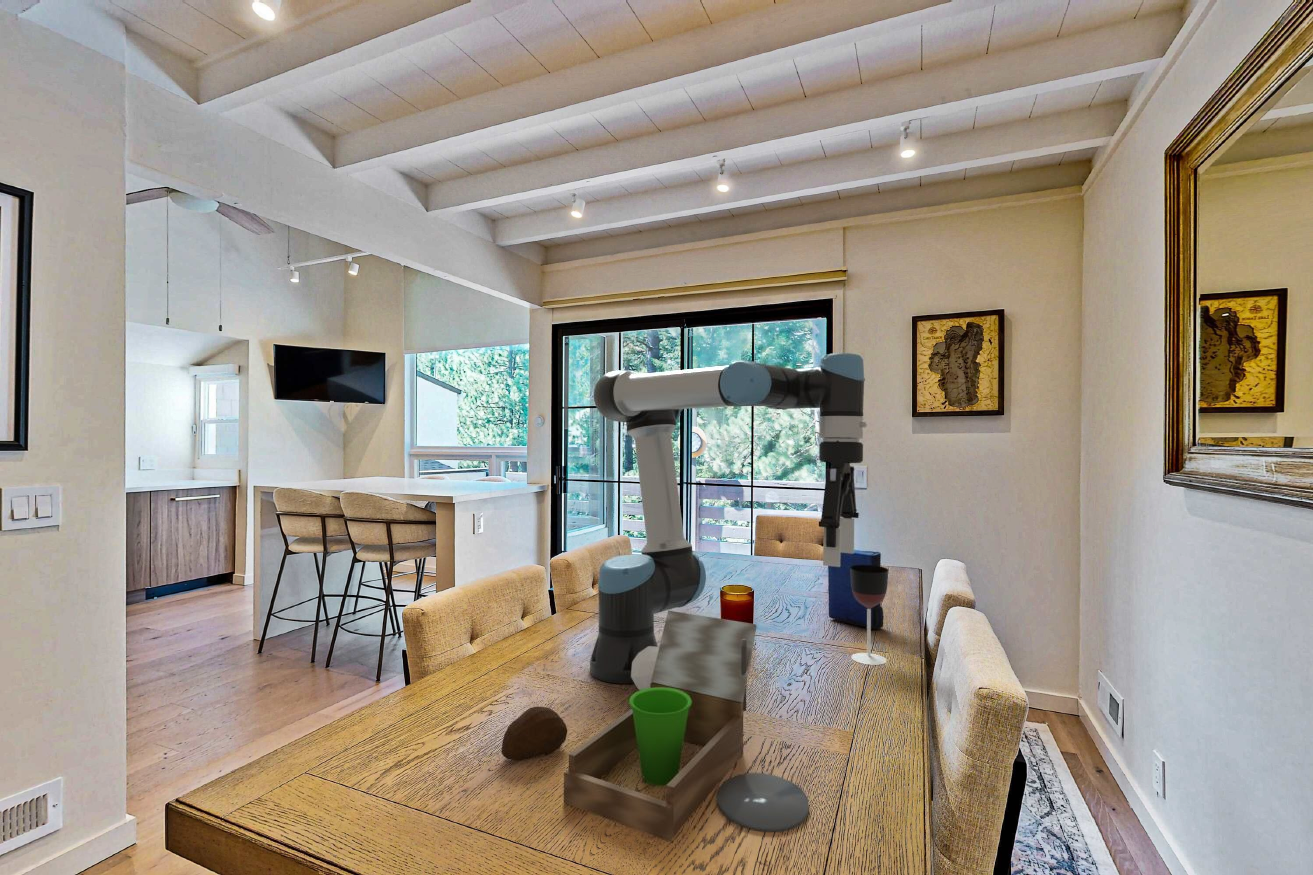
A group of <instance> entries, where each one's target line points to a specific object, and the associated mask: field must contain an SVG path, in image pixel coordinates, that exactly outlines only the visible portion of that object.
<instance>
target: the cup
mask: <svg viewBox="0 0 1313 875" xmlns="http://www.w3.org/2000/svg"><path fill="white" fill-rule="evenodd" d="M628 703H629V706H630V707H631V709H632V711H633V718H634V725H635V731H636V738H637V745H638V748H637V752H638V756H639V764H640V770H641V776H642V777H643V780H644V781H645V782H646V783H648V785H649V784H650V785H653V786H658V787H664V786H666V785H667V784H668V783H669V782H670V781H671V780H672V779H673V778H674V777H675V776H676V775H677V774H678V773H679V772H680V767H681V766H680V765H681V759H682V753H683V746H684V742H685V741H684V735H685V729H686V722H687V716H688V710H689V707H690V706H691V704H692V700H691V698H690V696H689V695H687V694H686V693H684V692H683V691H680V690H677V689H672V688H664V687H655V688H647V689H643V690H638V691H636V692H634V693H633V694H631V696H630V698H629V700H628Z"/></svg>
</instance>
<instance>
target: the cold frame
mask: <svg viewBox="0 0 1313 875" xmlns="http://www.w3.org/2000/svg"><path fill="white" fill-rule="evenodd" d="M662 630H663V631H662V635H661V639H660V643H659V646H658V647H659V651H658V655H657V659H656V663H655V667H654V671H653V675H652V679H651V682H652V683H650V688H655V687H664V688H672V689H677V690H680V691H683V692H684V693H686V694H687V695H689V696H690V698H691V700H692V704H691V706H690V707H689V710H688V716H687V722H686V729H685V735H684V741H683V742H687V743H691V744H694V745H698V746H700V747H701V746H702V748H701V749H700V751H698V753H696V754H695V755H694V756H693V758H692V759H691V760H689V761H688V763H687V764H685V766H684V767H683V768H682V769H681V770H679V773H678V774H677V775H676V776H675V777H674V778H673V779H672V780H671V781H670V782H669V783H668V784H667V785H665V787H666V800H663V799H660V798H657V797H653V796H651V795H648V794H644V793H642V792H638V791H635V790H633V789H630V788H627V787H624V786H621V785H617V784H614V783H611V782H609V781H605V780H604V779H602V778H604V777H605V776H606V775H607V774H608V773H610V772H611V771H612V770H613V769H614V768H616V766H619V764H621V763H622V762H623V761H624V760H625V759H626V758H628V757H629V756H630V755H632V753H633V752H635V751H636V750H638V745H637V738H636V731H635V725H634V718H633V711H632V708H631V709H630V710H628V711H627V712H625V713H623V714H622V715H621V716H620V717H618V718H617V719H616V720H614V721H613V722H611V723H610V724H608V725H607V726H605V727H604V728H603V729H602V730H600V731H599V732H597V733H596V734H594V735H593V736H592V737H590V738H589V739H588V740H586V741H585V742H584V743H582V744H580V745H579V746H578V747H576V748H575V749H573V750H572V751H570V752H569V753H568V768H567V769H566V770H565V771H564V772H563V803H564V804H566V805H568V806H572V807H575V808H577V809H580V810H582V811H585V812H588V813H591V814H594V815H596V816H599V817H601V818H605V819H608V820H610V821H613V822H616V823H618V824H621V825H623V826H626V827H627V828H628V827H629V828H631V829H634V830H637V831H639V832H643V833H645V834H647V835H651V836H654V837H656V838H659V839H660V840H661V839H662V840H664V841H666V842H671V841H672V840H673V838H674V837H675V836H676V835H677V834H678V832H679V831H680V830H681V829H682V828H683V826H684V825H685V824H686V823H687V822H688V820H690V818H691V817H692V815H693V814H694V813H695V812H696V811H697V810H698V809H699V807H700V806H701V805H702V804H703V802H704V801H705V800H706V799H707V798H708V796H709V795H710V794H711V793H712V791H713V790H714V789H715V788H716V787H717V786H718V784H719V783H720V782H721V781H722V779H723V778H724V777H725V776H726V775H727V774H728V772H729V771H730V770H731V769H732V768H733V766H734V765H735V764H736V763H737V762H738V761H739V759H740V758H741V757H742V755H743V754H744V712H747V683H748V677H749V673H750V672H749V671H750V665H751V660H752V655H753V648H754V644H755V637H756V633H757V632H756V631H757V625H756V623H749V622H743V621H737V620H731V619H724V618H719V617H718V618H717V617H714V616H713V617H712V616H706V615H700V614H694V613H693V614H692V613H686V612H681V611H680V612H679V611H673V610H667V613H666V618H665V621H664V626H663V629H662Z"/></svg>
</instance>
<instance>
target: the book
mask: <svg viewBox="0 0 1313 875" xmlns="http://www.w3.org/2000/svg"><path fill="white" fill-rule="evenodd" d="M881 554H882V553H881V552H880V551H872V550H871V551H870V550H861V549H860V550H859V549H858V550H857V549H854V553H853V554H851V553H841V552H840V567H835V566H827V571H828V572H827V573H828V574H827V575H828V576H827V577H828V578H827V579H828V583H827V584H828V585H827V586H828V587H827V588H828V591H827V592H828V617H829V618H830V619H832V620H834V621H838V622H839V621H840V622H842V623H848V624H850V625H854V626H859V627H863V628H867V607H865V606H864V605H862V604H861V603H859V602H858V601H857V600H856V598H855V597H854V595H853V592H852V587H851V574H850V567H851V566H854V565H874V566H880V567H882V566H881V565H882V564H881V563H882V562H881V558H882V555H881ZM883 627H884V609H883V607H882V602H881V603H880V604H878V605H876V606H874V607H872V608H871V630H878V629H882V628H883Z"/></svg>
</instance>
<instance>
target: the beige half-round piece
mask: <svg viewBox="0 0 1313 875" xmlns="http://www.w3.org/2000/svg"><path fill="white" fill-rule="evenodd" d="M658 651H659V646H658V647H654V646H648V647H647V648H645V649H644V650H642V651H641V652H639V653H638V654H637V656H636V657H635V659H634V660H633V662H632V670H631V678H632V680H633V681H634V683H633V684H634V685H635V686H636V688H637V689H638V691H640V690H643V689H647V688H650V683H652V682H651V679H652V675H653V671H654V667H655V663H656V659H657V655H658Z"/></svg>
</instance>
